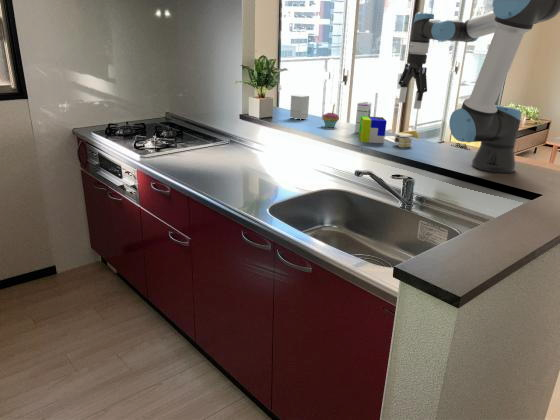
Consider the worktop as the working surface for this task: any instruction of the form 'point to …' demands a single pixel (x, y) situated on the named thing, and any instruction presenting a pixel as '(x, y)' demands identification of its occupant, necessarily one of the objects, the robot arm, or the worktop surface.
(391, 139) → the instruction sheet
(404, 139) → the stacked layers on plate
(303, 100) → the supplement box
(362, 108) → the syrup box
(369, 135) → the puzzle toy
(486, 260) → the worktop surface
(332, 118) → the cupcake
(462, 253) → the worktop surface
